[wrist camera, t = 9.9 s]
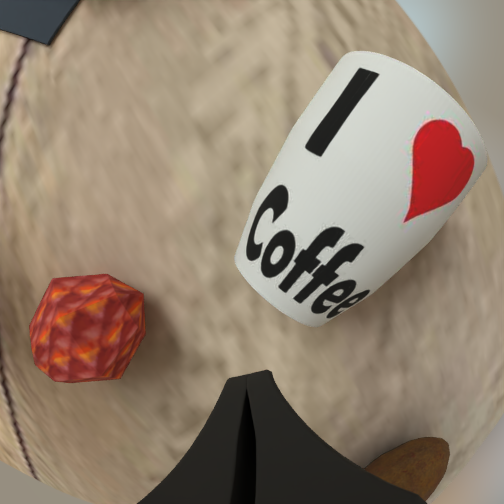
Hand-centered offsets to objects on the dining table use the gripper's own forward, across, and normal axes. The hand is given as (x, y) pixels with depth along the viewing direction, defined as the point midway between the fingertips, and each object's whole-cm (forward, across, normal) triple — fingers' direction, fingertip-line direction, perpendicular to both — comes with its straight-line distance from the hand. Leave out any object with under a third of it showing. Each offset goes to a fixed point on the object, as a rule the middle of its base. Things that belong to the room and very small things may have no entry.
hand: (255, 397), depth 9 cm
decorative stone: (+9, +9, -1) cm, 13 cm away
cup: (+6, -2, -1) cm, 6 cm away
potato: (+9, -8, +19) cm, 23 cm away
